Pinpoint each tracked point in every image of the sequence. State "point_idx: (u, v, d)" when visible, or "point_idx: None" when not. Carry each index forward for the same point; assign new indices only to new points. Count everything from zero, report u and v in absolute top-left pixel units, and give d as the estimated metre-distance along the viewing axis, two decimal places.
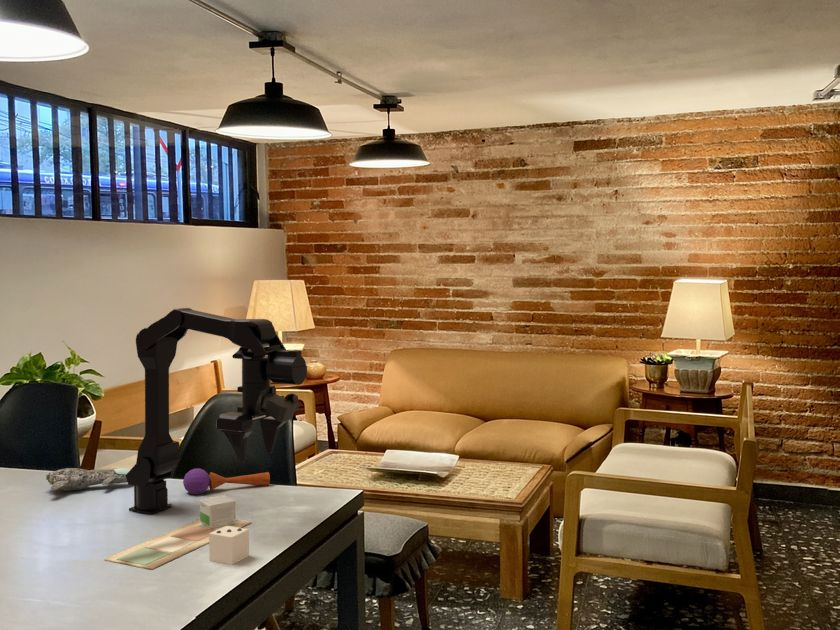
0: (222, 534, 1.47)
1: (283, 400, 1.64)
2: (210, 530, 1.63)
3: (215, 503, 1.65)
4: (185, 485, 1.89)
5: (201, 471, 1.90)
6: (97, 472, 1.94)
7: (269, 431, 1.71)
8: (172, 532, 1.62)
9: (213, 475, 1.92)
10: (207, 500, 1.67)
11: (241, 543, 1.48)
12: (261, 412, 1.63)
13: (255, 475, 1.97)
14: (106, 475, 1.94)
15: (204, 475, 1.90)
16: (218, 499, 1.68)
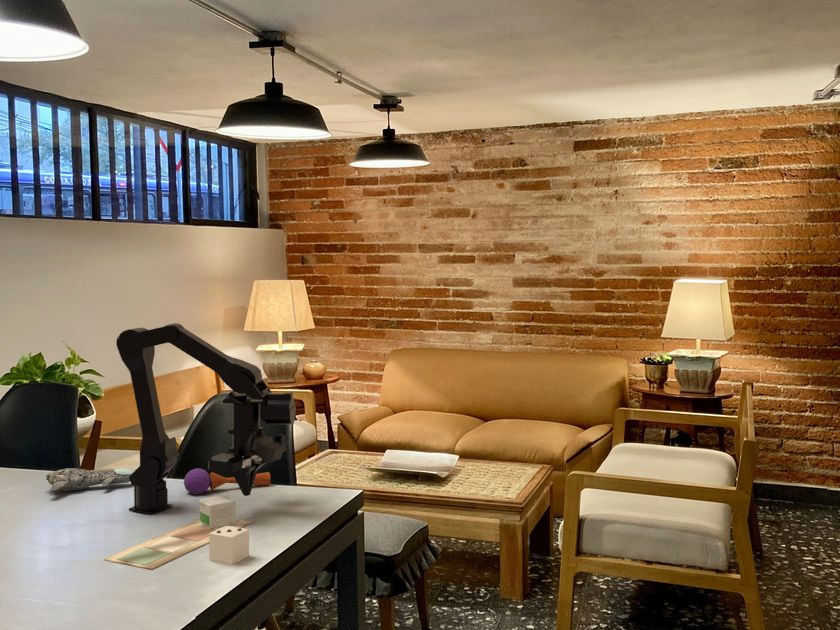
0: (222, 534, 1.47)
1: (271, 441, 1.74)
2: (210, 530, 1.63)
3: (215, 503, 1.65)
4: (186, 485, 1.89)
5: (202, 471, 1.90)
6: (97, 472, 1.94)
7: None
8: (172, 532, 1.62)
9: (214, 475, 1.92)
10: (207, 500, 1.67)
11: (241, 543, 1.48)
12: (251, 453, 1.72)
13: (256, 475, 1.97)
14: (106, 475, 1.94)
15: (205, 475, 1.90)
16: (218, 499, 1.68)
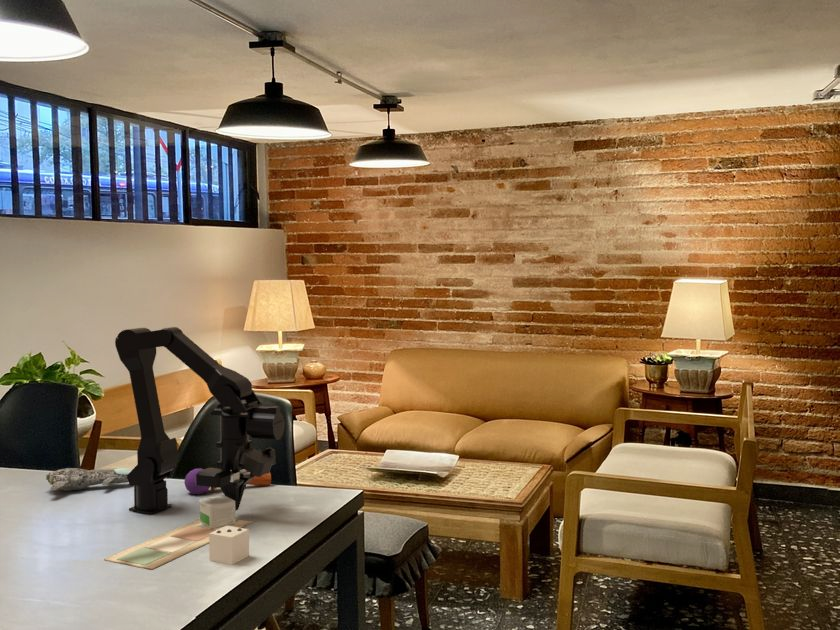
0: (222, 534, 1.47)
1: (260, 455, 1.71)
2: (210, 530, 1.63)
3: (215, 503, 1.65)
4: (186, 485, 1.89)
5: None
6: (97, 472, 1.94)
7: None
8: (172, 532, 1.62)
9: None
10: (207, 500, 1.67)
11: (241, 543, 1.48)
12: (239, 467, 1.69)
13: None
14: (106, 475, 1.94)
15: None
16: (218, 499, 1.68)
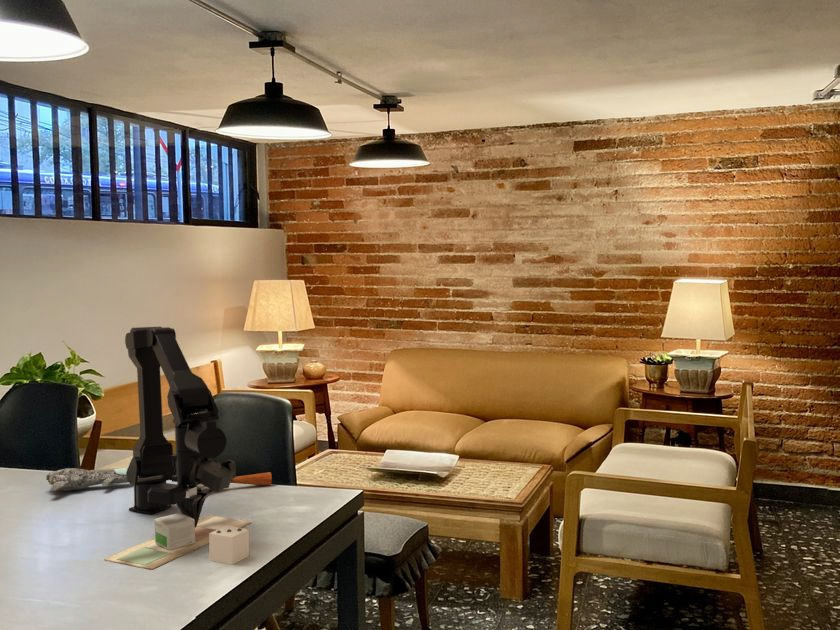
0: (222, 534, 1.47)
1: (219, 468, 1.58)
2: (210, 530, 1.63)
3: (173, 522, 1.52)
4: None
5: None
6: (97, 472, 1.94)
7: None
8: None
9: None
10: (163, 519, 1.54)
11: (241, 543, 1.48)
12: (196, 482, 1.56)
13: (257, 475, 1.97)
14: (106, 475, 1.94)
15: None
16: (175, 517, 1.55)
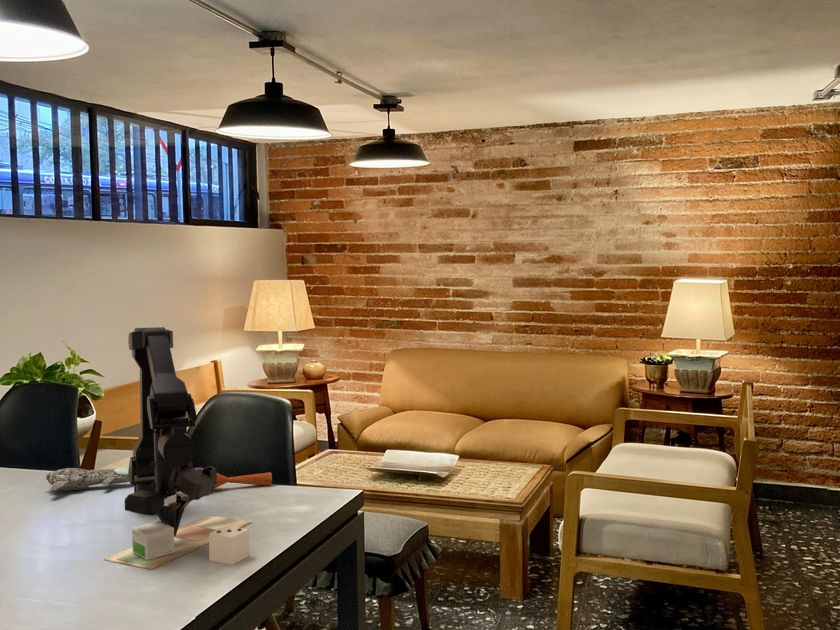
0: (222, 534, 1.47)
1: (199, 475, 1.53)
2: (210, 530, 1.63)
3: (151, 531, 1.47)
4: None
5: None
6: (97, 472, 1.94)
7: None
8: None
9: None
10: (141, 528, 1.49)
11: (241, 543, 1.48)
12: (175, 489, 1.51)
13: (257, 475, 1.97)
14: (106, 475, 1.94)
15: None
16: (154, 526, 1.50)
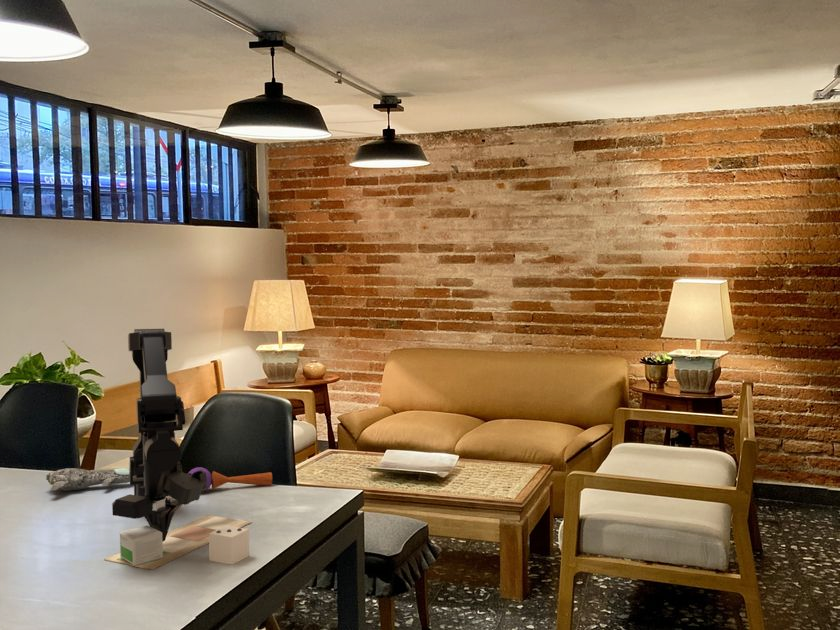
0: (221, 534, 1.47)
1: (188, 479, 1.50)
2: (210, 530, 1.63)
3: (139, 536, 1.45)
4: None
5: (203, 470, 1.91)
6: (97, 472, 1.94)
7: None
8: (172, 532, 1.62)
9: (215, 474, 1.92)
10: (129, 532, 1.47)
11: (241, 543, 1.48)
12: (163, 494, 1.48)
13: (257, 475, 1.97)
14: (106, 475, 1.94)
15: (206, 474, 1.91)
16: (142, 530, 1.48)
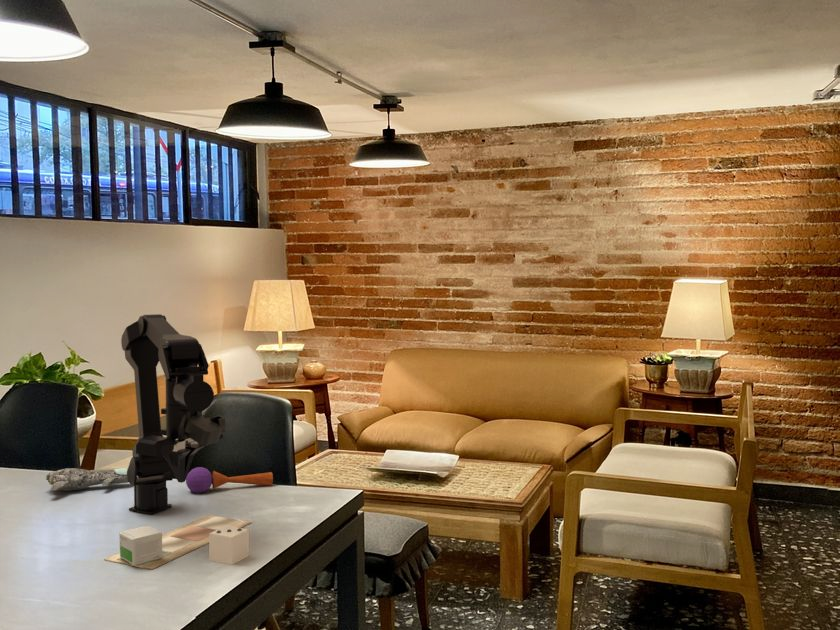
0: (222, 534, 1.47)
1: (208, 423, 1.58)
2: (210, 530, 1.63)
3: (138, 536, 1.45)
4: (187, 483, 1.90)
5: (203, 470, 1.91)
6: (97, 472, 1.94)
7: None
8: (172, 532, 1.62)
9: (215, 474, 1.92)
10: (129, 533, 1.47)
11: (241, 543, 1.48)
12: (184, 436, 1.56)
13: (258, 475, 1.97)
14: (106, 475, 1.94)
15: (206, 473, 1.91)
16: (142, 531, 1.47)
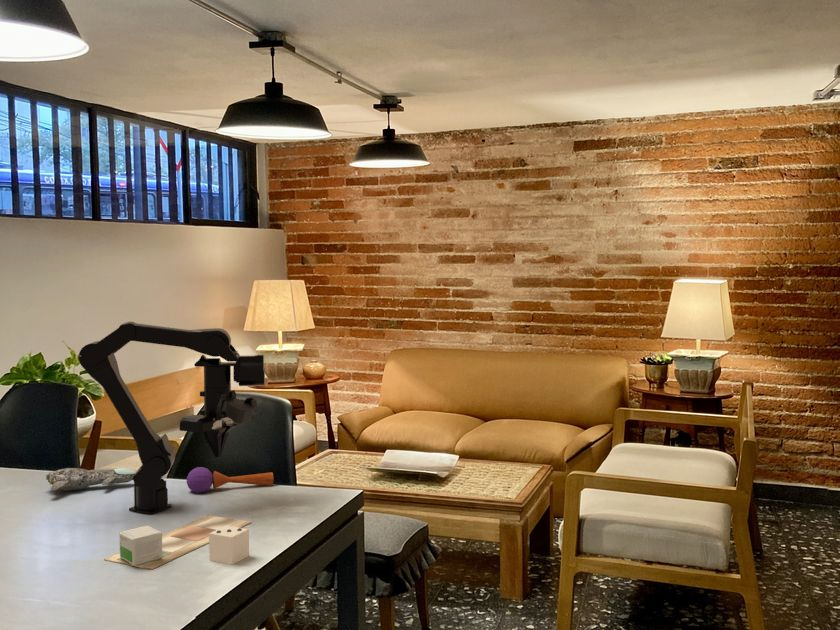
0: (221, 534, 1.47)
1: (242, 403, 1.77)
2: (210, 530, 1.63)
3: (138, 536, 1.45)
4: (188, 483, 1.90)
5: (204, 470, 1.91)
6: (97, 472, 1.94)
7: None
8: (172, 532, 1.62)
9: (216, 474, 1.93)
10: (129, 533, 1.47)
11: (241, 543, 1.48)
12: (221, 415, 1.76)
13: (259, 475, 1.97)
14: (106, 475, 1.94)
15: (207, 473, 1.91)
16: (142, 531, 1.47)
